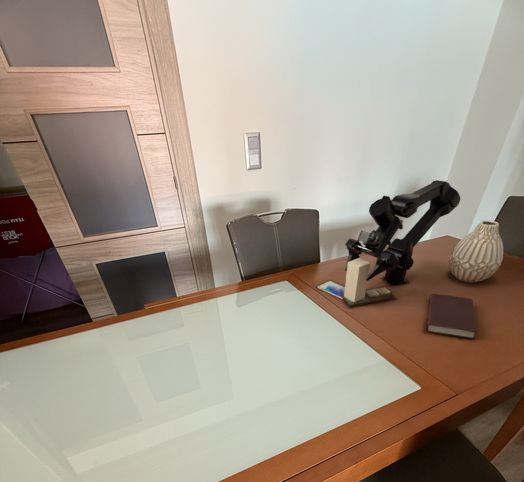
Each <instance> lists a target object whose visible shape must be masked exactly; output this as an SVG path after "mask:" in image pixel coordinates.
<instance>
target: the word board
mask: <svg viewBox="0 0 524 482" xmlns="http://www.w3.org/2000/svg"><path fill="white" fill-rule="evenodd" d="M340 296H341V297H342V298H343V299H342V301H344V303H345V304H346V305H347V307H348V308H353V307H359V306H364V305H369V304H375V303H382V302H385V301H391V300H395V299H396V296H395V295H394V294H393V293H392V292H391V291H390V290H389V289H388V288H387V287H385V286H383V285H382V286H377V287H372V288H371V287H370V288H366V292H365V298H363V299H360V300H358V301H356V302H353V301H351V300H349V299H347V298H345V297H344V294H340Z"/></svg>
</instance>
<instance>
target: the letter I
mask: <svg viewBox="0 0 524 482" xmlns="http://www.w3.org/2000/svg"><path fill="white" fill-rule="evenodd" d="M370 267H371V262H369V261H367V260H365V259H362V258H360V257H359V258H358V259H355V260H352V261H350V262H348V266H347V271H346V276H345V284H344V287H345V292H344V297H345V298H347V299H349V300H351V301H353V302H356V301H358V300H360V299H363V298H365V292H366V289H367V285H368V281H367V280H366V278H367V276H368V274H369V273H370Z"/></svg>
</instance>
